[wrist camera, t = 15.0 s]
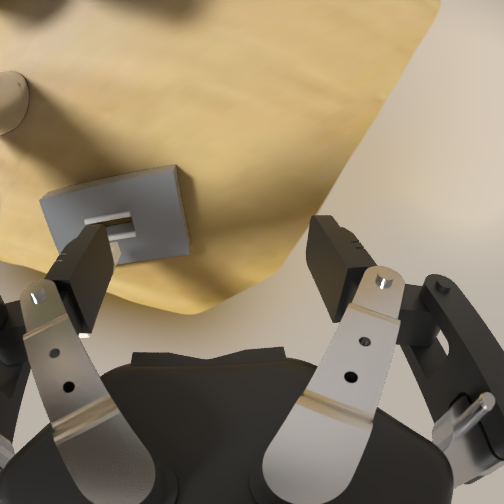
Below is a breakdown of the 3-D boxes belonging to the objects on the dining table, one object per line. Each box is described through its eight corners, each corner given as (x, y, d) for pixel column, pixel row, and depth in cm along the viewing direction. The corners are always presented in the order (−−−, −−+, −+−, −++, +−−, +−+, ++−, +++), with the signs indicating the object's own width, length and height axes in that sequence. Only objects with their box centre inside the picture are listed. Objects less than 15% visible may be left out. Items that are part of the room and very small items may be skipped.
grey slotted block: (73, 260, 42) (65, 273, 40) (48, 192, 36) (37, 201, 33) (190, 243, 44) (189, 256, 41) (175, 164, 37) (172, 172, 34)
